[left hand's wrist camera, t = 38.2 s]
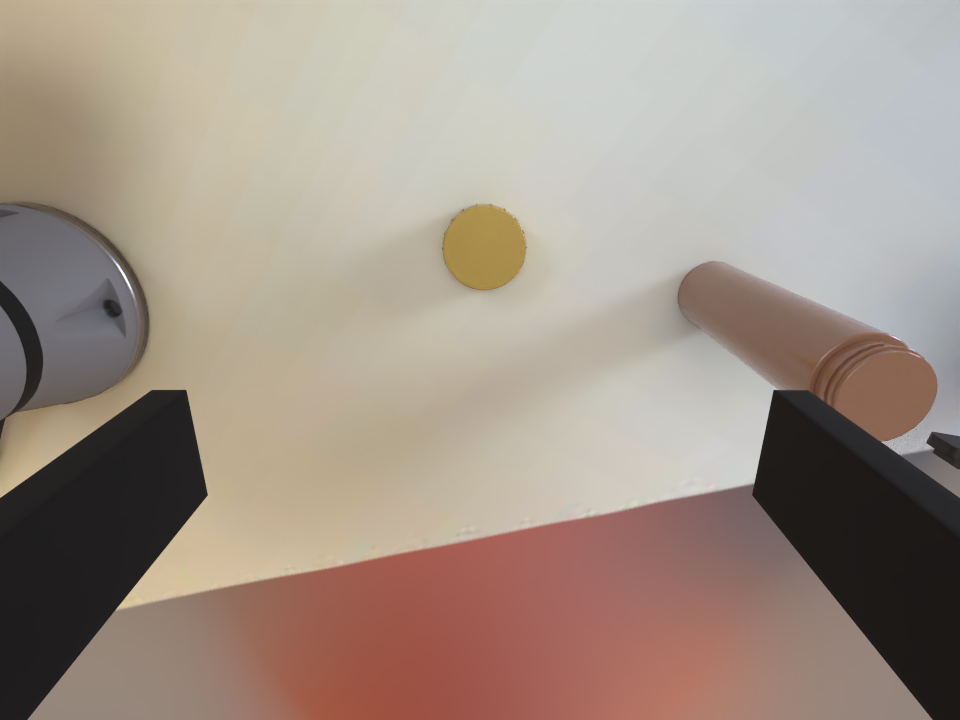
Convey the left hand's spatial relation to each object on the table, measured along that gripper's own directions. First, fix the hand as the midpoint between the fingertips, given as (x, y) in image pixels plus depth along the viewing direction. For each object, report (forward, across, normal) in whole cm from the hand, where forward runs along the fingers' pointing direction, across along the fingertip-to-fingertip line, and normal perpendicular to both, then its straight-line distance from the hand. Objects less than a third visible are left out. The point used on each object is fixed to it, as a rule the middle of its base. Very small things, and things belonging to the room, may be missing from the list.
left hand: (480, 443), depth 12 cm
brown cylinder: (+30, +18, -4) cm, 35 cm away
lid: (+29, 0, 0) cm, 29 cm away
